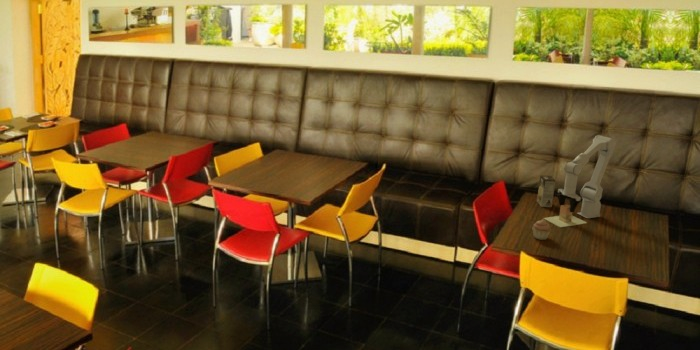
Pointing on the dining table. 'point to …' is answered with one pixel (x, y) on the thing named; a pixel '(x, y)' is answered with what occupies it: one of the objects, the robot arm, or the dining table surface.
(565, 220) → the birch block
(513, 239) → the dining table surface
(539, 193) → the coffee box
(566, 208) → the terracotta block
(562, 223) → the pale green rectangular panel
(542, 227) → the cupcake
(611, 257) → the dining table surface
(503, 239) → the dining table surface
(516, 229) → the dining table surface
